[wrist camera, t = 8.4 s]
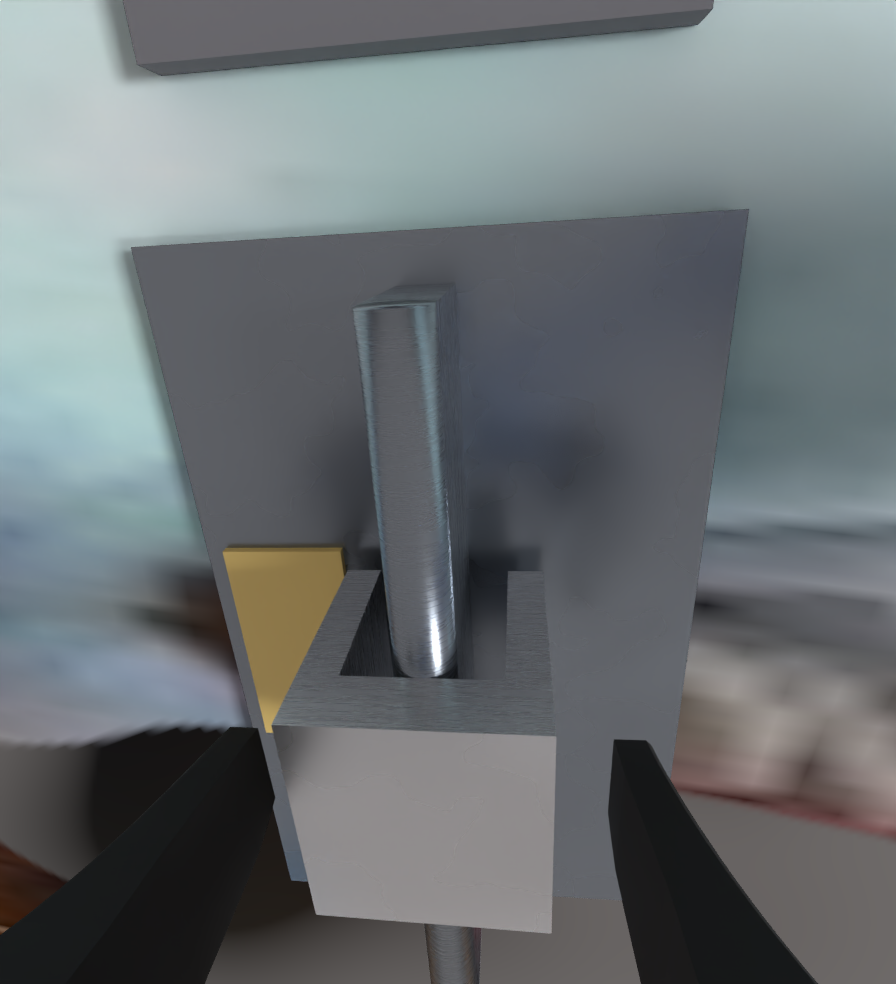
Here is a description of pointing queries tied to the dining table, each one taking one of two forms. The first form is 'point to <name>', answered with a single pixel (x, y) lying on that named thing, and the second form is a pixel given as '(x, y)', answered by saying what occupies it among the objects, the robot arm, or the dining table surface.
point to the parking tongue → (369, 27)
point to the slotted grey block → (423, 772)
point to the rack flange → (462, 466)
